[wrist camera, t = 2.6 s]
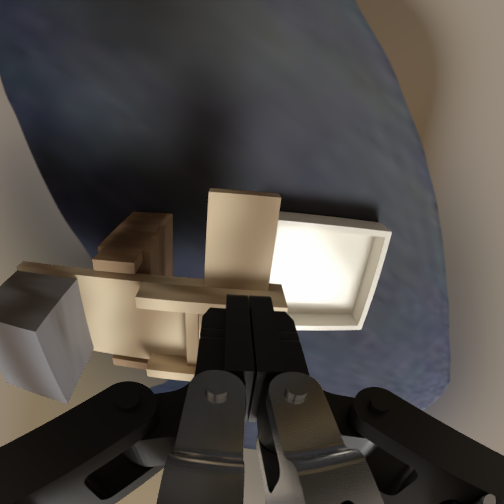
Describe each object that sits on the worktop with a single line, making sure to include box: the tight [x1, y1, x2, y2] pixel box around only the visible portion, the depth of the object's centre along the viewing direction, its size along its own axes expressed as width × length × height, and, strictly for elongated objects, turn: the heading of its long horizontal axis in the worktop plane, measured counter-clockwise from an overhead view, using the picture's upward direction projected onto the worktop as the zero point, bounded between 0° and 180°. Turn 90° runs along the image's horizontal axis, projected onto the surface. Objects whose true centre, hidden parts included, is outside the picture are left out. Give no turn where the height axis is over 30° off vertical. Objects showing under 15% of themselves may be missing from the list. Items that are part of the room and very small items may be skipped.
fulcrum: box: [92, 212, 173, 370], centre depth 24 cm, size 4×10×10 cm, turn 174°
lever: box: [0, 188, 288, 404], centre depth 16 cm, size 20×13×7 cm, turn 84°
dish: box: [269, 211, 392, 330], centre depth 29 cm, size 12×12×3 cm
